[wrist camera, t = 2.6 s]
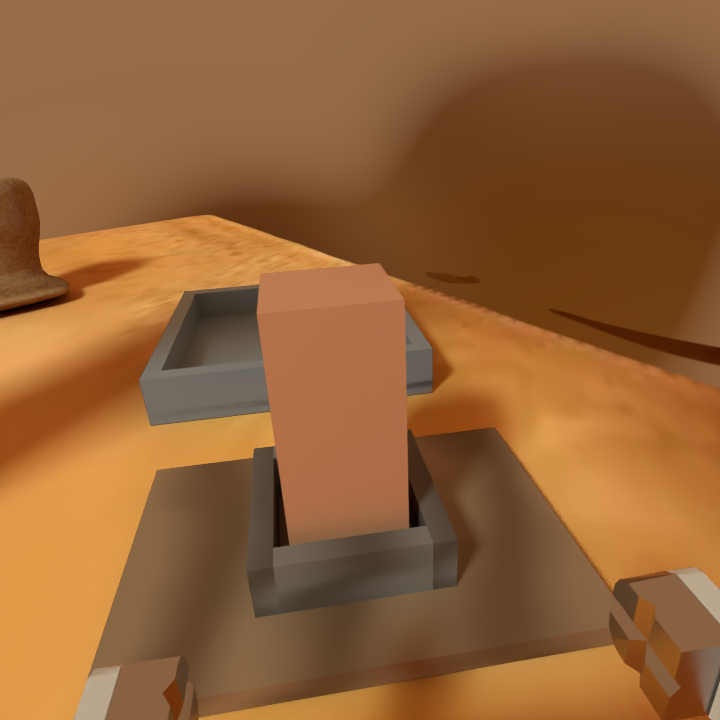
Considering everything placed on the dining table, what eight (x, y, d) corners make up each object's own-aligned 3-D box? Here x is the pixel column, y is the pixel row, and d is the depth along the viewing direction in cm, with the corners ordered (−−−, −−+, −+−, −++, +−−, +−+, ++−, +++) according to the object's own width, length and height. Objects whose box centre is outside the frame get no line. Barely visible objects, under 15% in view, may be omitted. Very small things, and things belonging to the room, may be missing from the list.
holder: (82, 737, 18) (51, 669, 17) (160, 484, 31) (147, 432, 29) (628, 641, 20) (644, 573, 19) (493, 441, 33) (496, 391, 32)
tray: (150, 425, 37) (138, 380, 36) (191, 324, 55) (184, 291, 54) (432, 392, 39) (432, 348, 38) (382, 305, 57) (381, 273, 56)
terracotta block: (294, 580, 23) (256, 314, 18) (291, 503, 27) (260, 273, 22) (409, 562, 23) (404, 299, 18) (387, 490, 28) (379, 263, 23)
